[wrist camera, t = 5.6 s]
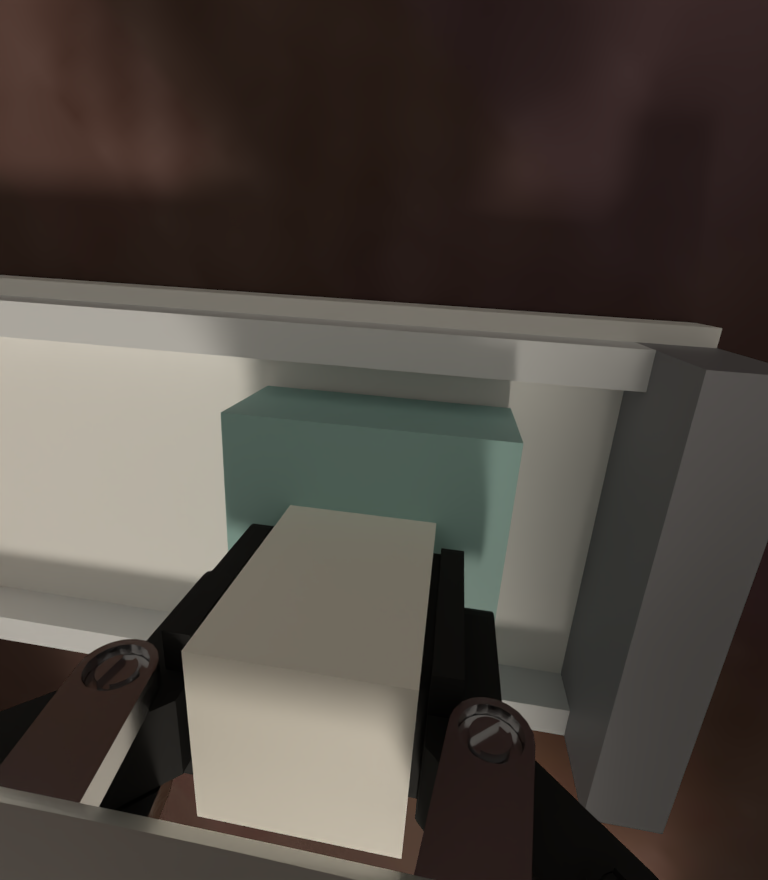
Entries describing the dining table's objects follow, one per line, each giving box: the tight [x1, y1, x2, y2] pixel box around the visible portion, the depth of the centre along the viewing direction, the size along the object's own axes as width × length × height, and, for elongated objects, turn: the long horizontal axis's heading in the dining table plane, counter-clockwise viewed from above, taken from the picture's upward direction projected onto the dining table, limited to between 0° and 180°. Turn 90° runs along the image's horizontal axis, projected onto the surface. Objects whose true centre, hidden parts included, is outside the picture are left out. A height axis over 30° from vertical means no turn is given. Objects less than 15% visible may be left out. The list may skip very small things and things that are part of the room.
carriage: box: [181, 386, 523, 859], centre depth 11 cm, size 7×8×8 cm
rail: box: [0, 275, 768, 834], centre depth 15 cm, size 33×13×6 cm, turn 87°
